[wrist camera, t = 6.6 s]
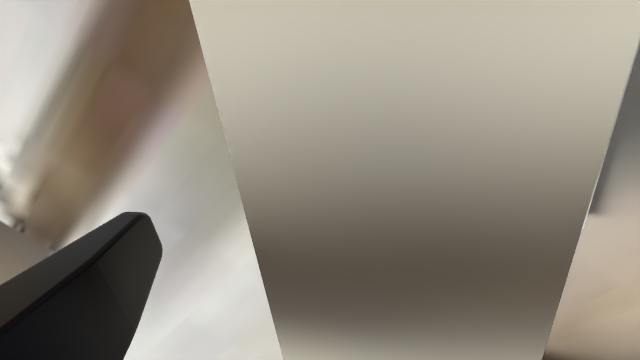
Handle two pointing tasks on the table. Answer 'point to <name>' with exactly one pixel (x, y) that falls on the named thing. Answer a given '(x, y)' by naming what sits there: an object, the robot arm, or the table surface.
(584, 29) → the maple beam block
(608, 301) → the table surface
